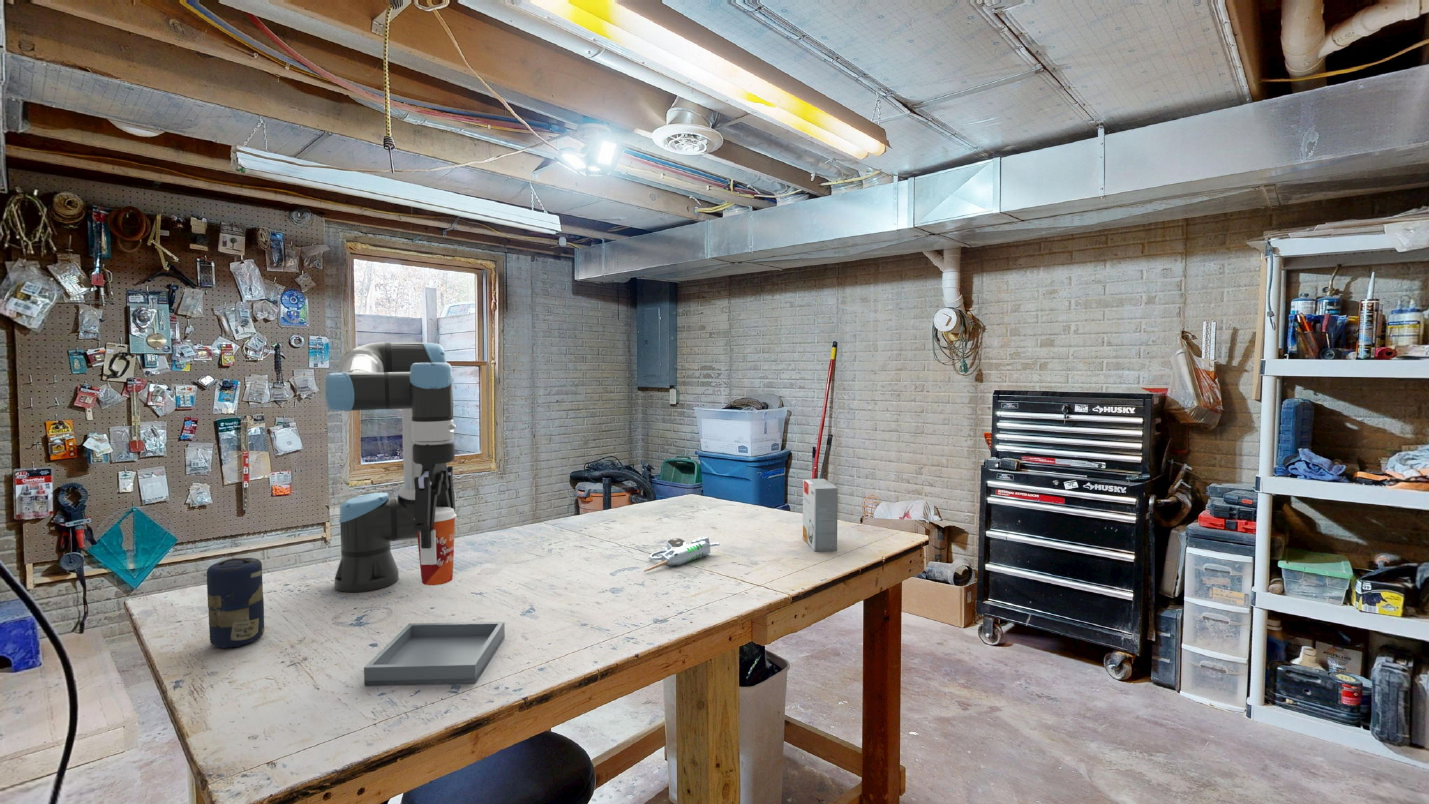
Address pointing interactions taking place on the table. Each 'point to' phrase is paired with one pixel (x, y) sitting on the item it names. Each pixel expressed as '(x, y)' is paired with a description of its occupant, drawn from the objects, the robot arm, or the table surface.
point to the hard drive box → (820, 514)
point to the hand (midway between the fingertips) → (437, 557)
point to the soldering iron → (682, 552)
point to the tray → (436, 654)
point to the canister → (235, 602)
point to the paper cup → (441, 548)
